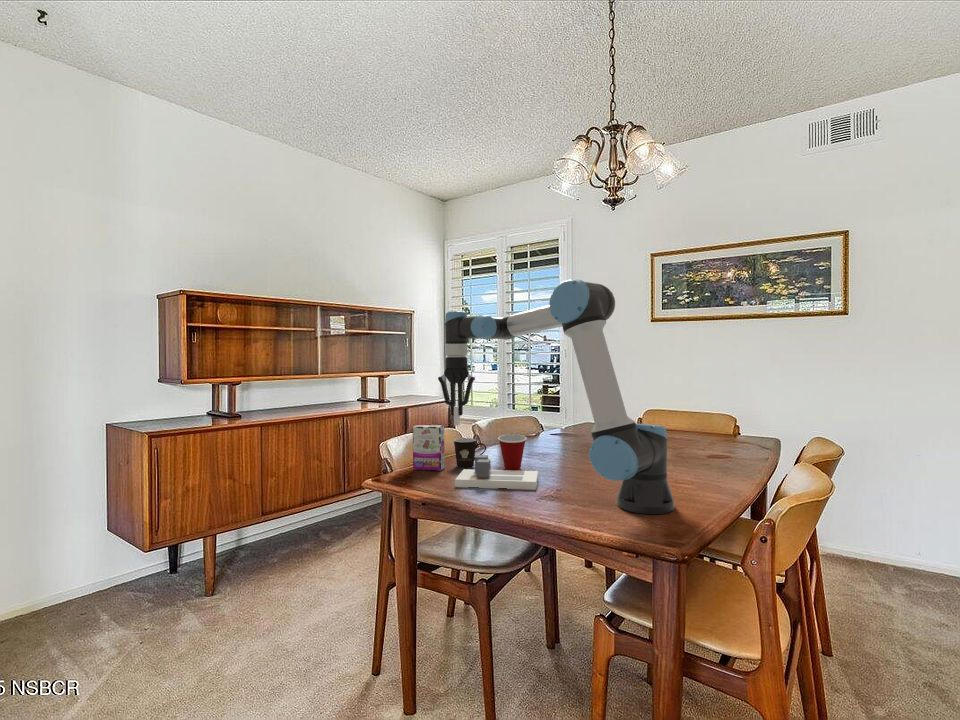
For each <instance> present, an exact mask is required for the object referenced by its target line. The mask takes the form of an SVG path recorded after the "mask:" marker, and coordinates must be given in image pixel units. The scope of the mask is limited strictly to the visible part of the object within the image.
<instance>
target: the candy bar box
mask: <svg viewBox="0 0 960 720" xmlns="http://www.w3.org/2000/svg"><path fill="white" fill-rule="evenodd" d="M411 429H412V467H413V470H414V471H425V470H433V471H432V472H441V470H442V471H443V470H445V468H446V462H445V460H446V459H445V457H446V456H445V455H446V454H445V426H444V425H437V424H434V425H433V424H431V425H430V424H416V425H414V426H412V428H411Z"/></svg>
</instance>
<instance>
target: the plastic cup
mask: <svg viewBox="0 0 960 720" xmlns="http://www.w3.org/2000/svg"><path fill="white" fill-rule="evenodd" d="M527 438H528V437H526V436H525V435H522V434H504V435H503V434H502V435H500V436H498V437H497V440H498V442H499V445H500V450H501V455H502V460H503V465H504V469H505V470H506V469H507V470H509V471H510V470H512V471H520V470H521V467H522V461H523V458H524V456H523V455H524V449H525V444H526V441H527Z"/></svg>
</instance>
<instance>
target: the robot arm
mask: <svg viewBox="0 0 960 720" xmlns="http://www.w3.org/2000/svg"><path fill="white" fill-rule="evenodd" d="M615 299H616V298H615V295H614V293H613V292H612V291H611V289H609V288H608V287H607V286H605V285H603V284H601V283H594V282H590V281H583V280H582V279H568V280H564V281H562V282H560V283H559V284H558V285H557V286H556V287H555V288H554V289H553V291H552V294H551V295H550V298H549V303H548V304H547V305H545V306H541V307H536V308H533V309H530V310H524V311H522V312H521V311H520V312H517V313H514V314H510V315H506V316H501V317H497V316H491V315H483V314H480V315H472V316H468V313H467V311H463V310H456V311H452V310H451V311H447V312H446V313H445V318H444V331H445V336H444V338H445V339H444V340H445V343H444V345H445V349H444V350H445V352H444V353H445V356H446V357H445V370H444V372H443V374H442V375H441V376H438V377H437V380H438V381H439V383H440V386H441V390H442V394H443V399H444V402H445V404H446V405H449V406H450V415H451V416H453V426H456V427H457V426H460V425H461V416H462V415H463V414H464V413H463V411H464V409H463V407H464V406H465V405H467V404H468V403H469V399H470V395H471V390H472V386H473V383H474V381H475V380H476V377H475V376H474V375H471V374H470V371H469V370H468V357H466V356H468V340H471V339H472V340H474V339H475V340H478V339H479V340H514V339H515V338H517V337H519V336H523V335H528V334H533V333H538V332H542V331H546V330H547V331H548V330H551V329H552V330H553V329H557V328H562V331H563V333H564V336H567V337H568V338H570V339H571V341H572V346H573V349H574V354H575V357H576V360H577V364H578V368H579V371H580V375H581V379H582V383H583V386H584V389H585V393H586V397H587V400H588V404H589V407H590V411H591V414H592V418H593V422H594V426H593V427H592V429H591V431H590V433H591V437H592V440H593V441H592V443H591V445H590V448H589V452H588V457H589V461H590V463H591V466H592V468H593V469H594V471H595V472H596V473H597V474H598V475H599V476H601V477H603V478H604V479H606V480H609V481H613V482H616V481H617V482H620V481H621V483H620V486H619V489H618V492H617V495H616V505H617V506H618V507H619V508H621V509H622V510H625V511H627V512H632V513H636V514H641V515H663V514H668V513H671V512H673V511H674V509H675V501H674V497H673V494H672V490H671V488H670V485H669V482H668V440H669V439H668V434H667V429H666V427H664V426H663V425H658V424H649V423H647V424H646V423H636V420H634V419H632V418H630V417H629V416H628V415H627V410H626V406H625V404H624V400H623V396H622V393H621V390H620V386H619V382H618V379H617V376H616V372H615V368H614V366H613V362H612V358H611V355H610V351H609V348H608V344H607V340H606V337H605V333H604V328H605V327H606V324H607V320H609V319H610V318H611V317H612V315H613V313H614V312H615V307H616V300H615ZM466 379H467V385H466V390H465V393H464V387H463V385H464V382H465V381H466ZM446 380H448V382H449V385H450V386H449V387H450V394H449V390H448V386H447V385H448V384H447V383H446ZM456 385H457V398H456ZM463 393H464V394H463ZM456 399H457V402H456Z"/></svg>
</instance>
